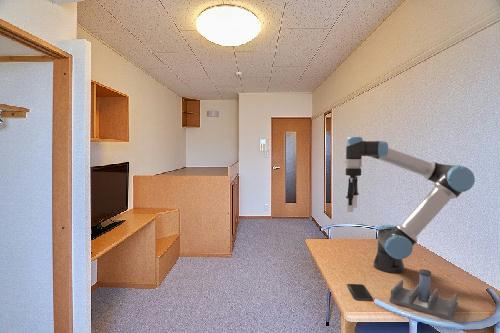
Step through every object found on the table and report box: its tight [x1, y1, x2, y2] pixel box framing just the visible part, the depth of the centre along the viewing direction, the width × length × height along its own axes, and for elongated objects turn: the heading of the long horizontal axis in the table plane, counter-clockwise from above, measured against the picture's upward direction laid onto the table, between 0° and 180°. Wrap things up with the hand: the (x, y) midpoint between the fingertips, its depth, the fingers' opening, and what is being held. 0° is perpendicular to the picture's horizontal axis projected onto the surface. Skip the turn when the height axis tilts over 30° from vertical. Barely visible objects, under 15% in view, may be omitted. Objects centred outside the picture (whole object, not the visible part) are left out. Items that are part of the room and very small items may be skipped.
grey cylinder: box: [418, 269, 432, 302], centre depth 131 cm, size 4×4×12 cm
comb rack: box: [389, 279, 459, 321], centre depth 131 cm, size 15×22×5 cm
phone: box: [346, 283, 374, 302], centre depth 141 cm, size 8×1×15 cm
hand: (352, 209), depth 162 cm, fingers open, 13 cm apart
